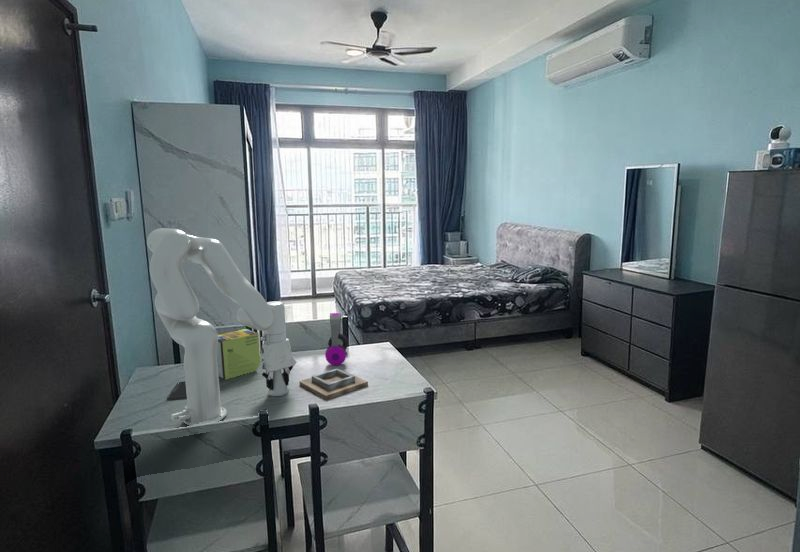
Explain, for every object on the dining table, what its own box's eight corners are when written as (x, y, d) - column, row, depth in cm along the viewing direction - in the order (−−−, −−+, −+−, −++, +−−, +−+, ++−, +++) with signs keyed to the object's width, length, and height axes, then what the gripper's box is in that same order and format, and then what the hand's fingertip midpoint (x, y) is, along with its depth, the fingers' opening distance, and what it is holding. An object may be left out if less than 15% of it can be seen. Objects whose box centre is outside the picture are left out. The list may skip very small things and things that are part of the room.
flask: (283, 397, 159) (281, 370, 157) (264, 396, 160) (262, 369, 159) (292, 389, 166) (290, 363, 164) (273, 388, 167) (272, 361, 166)
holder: (326, 399, 156) (325, 390, 156) (299, 385, 170) (299, 376, 169) (368, 385, 168) (367, 376, 168) (340, 372, 182) (339, 364, 181)
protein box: (261, 369, 187) (259, 332, 184) (225, 380, 176) (222, 341, 173) (248, 363, 194) (246, 328, 191) (212, 374, 183) (209, 336, 180)
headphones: (329, 351, 208) (327, 308, 205) (348, 350, 209) (347, 307, 206) (325, 367, 188) (323, 319, 185) (346, 366, 189) (344, 319, 185)
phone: (199, 380, 174) (190, 395, 160) (200, 383, 174) (190, 399, 160) (177, 382, 173) (165, 398, 158) (177, 384, 173) (166, 401, 158)
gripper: (256, 344, 151) (260, 396, 154) (302, 334, 163) (304, 383, 166) (246, 340, 157) (250, 390, 160) (291, 330, 168) (294, 377, 171)
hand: (278, 386), depth 163 cm, fingers closed on flask, 5 cm apart
